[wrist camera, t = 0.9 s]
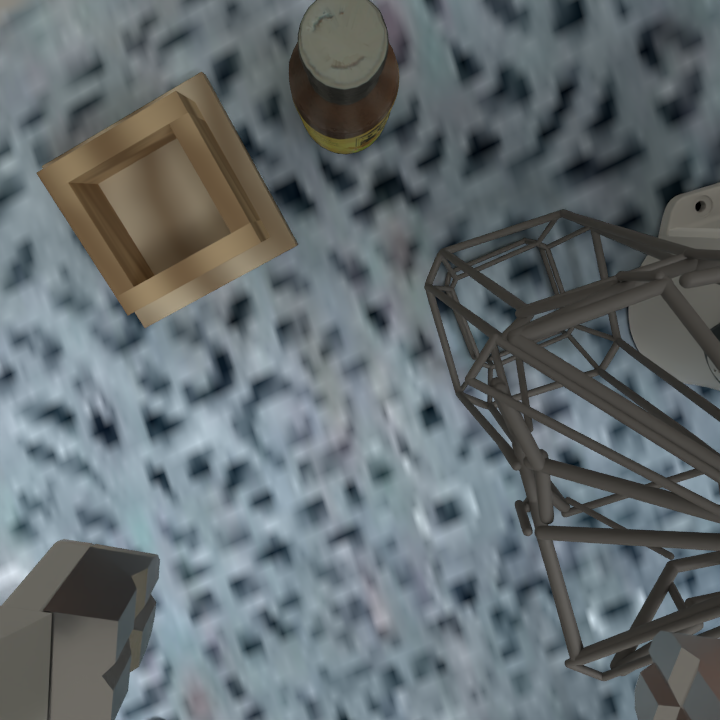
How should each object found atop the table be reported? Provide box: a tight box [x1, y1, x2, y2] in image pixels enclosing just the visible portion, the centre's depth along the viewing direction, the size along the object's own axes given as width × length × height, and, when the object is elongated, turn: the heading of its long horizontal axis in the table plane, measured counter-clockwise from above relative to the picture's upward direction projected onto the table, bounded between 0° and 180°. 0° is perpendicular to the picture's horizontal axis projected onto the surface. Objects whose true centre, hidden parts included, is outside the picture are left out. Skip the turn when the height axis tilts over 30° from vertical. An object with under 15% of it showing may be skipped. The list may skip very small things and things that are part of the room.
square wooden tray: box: [37, 72, 298, 328], centre depth 44 cm, size 14×14×6 cm
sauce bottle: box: [289, 0, 399, 154], centre depth 36 cm, size 6×6×20 cm
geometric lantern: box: [424, 209, 720, 681], centre depth 33 cm, size 16×16×35 cm
